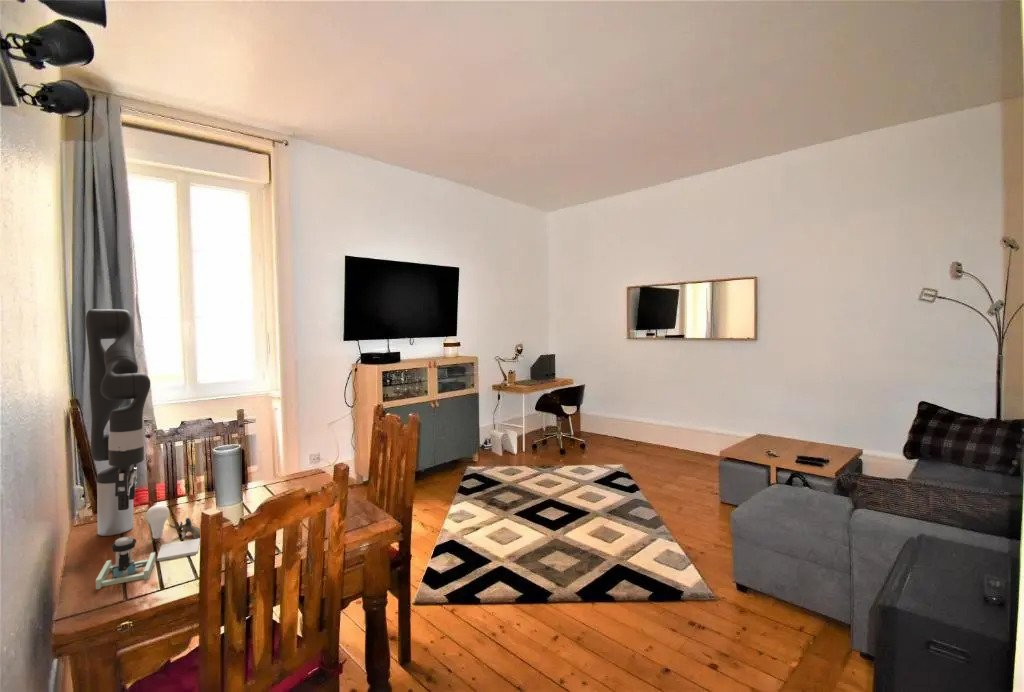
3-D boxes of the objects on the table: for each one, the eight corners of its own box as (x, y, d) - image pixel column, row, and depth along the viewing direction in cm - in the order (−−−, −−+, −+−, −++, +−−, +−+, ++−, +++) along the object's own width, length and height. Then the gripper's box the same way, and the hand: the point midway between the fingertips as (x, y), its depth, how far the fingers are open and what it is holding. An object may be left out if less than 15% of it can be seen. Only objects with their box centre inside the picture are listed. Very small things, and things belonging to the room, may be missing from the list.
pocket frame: (106, 569, 133) (106, 560, 133) (155, 560, 139) (155, 552, 139) (95, 589, 123) (95, 580, 123) (148, 579, 128) (148, 570, 128)
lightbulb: (156, 543, 149) (156, 509, 149) (140, 541, 150) (140, 507, 150) (174, 535, 155) (173, 502, 155) (158, 533, 156) (158, 500, 156)
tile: (161, 547, 147) (161, 544, 147) (200, 540, 152) (200, 538, 152) (156, 561, 138) (156, 558, 138) (197, 553, 143) (197, 551, 143)
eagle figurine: (163, 537, 151) (186, 535, 149) (172, 514, 155) (194, 512, 153) (183, 542, 157) (205, 540, 155) (191, 519, 161) (213, 517, 159)
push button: (140, 566, 135) (140, 531, 135) (144, 573, 131) (143, 537, 131) (110, 574, 130) (109, 539, 130) (113, 582, 127) (112, 545, 126)
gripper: (114, 442, 134) (115, 498, 135) (102, 453, 122) (102, 515, 122) (147, 439, 138) (148, 494, 138) (138, 450, 126) (139, 510, 126)
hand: (126, 504), depth 130 cm, fingers open, 8 cm apart
